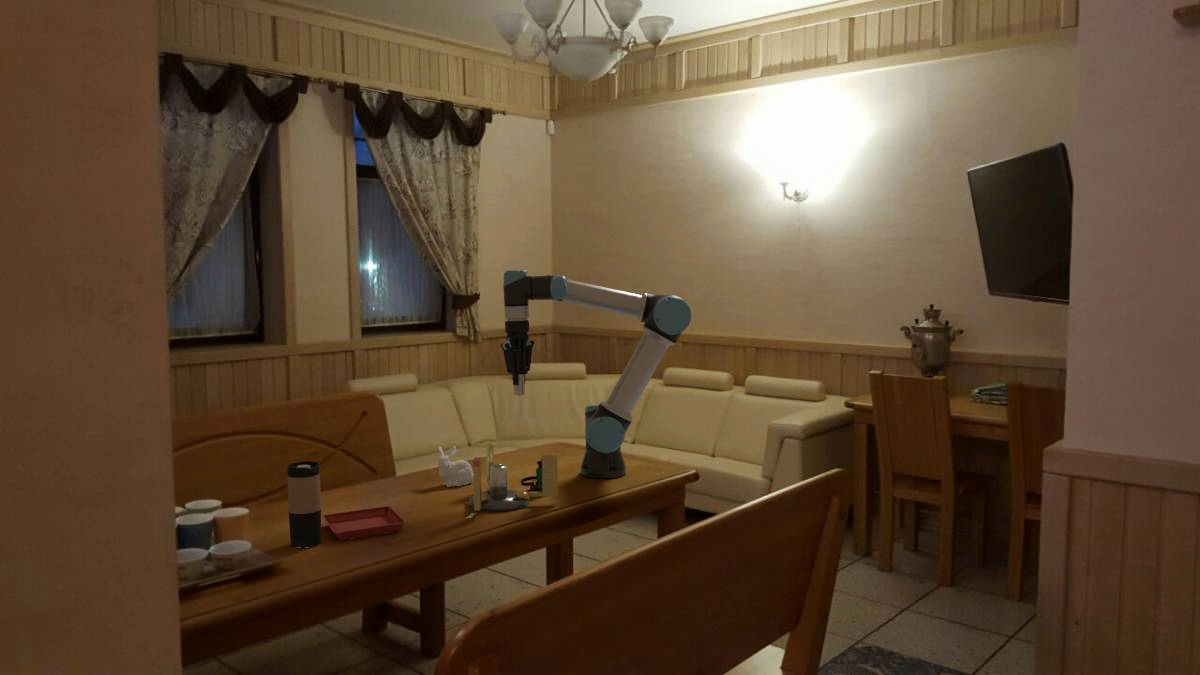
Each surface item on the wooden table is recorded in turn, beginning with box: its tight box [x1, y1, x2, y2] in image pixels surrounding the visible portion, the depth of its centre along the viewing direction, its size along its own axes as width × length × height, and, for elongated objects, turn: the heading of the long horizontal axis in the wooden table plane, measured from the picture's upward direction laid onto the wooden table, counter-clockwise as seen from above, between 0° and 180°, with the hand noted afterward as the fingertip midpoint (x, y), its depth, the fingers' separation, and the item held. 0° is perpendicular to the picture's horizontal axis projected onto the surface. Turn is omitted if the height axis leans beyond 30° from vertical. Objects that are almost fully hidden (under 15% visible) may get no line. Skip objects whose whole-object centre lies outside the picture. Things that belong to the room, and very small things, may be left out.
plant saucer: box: [321, 505, 406, 541], centre depth 229 cm, size 18×18×3 cm
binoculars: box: [520, 457, 542, 492], centre depth 265 cm, size 9×11×10 cm
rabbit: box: [437, 445, 474, 488], centre depth 277 cm, size 12×9×12 cm
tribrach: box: [466, 443, 559, 520], centre depth 250 cm, size 27×32×14 cm
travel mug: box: [287, 460, 322, 549], centre depth 216 cm, size 8×8×20 cm
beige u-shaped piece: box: [472, 456, 488, 511], centre depth 243 cm, size 12×4×14 cm, turn 3°
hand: (519, 394), depth 273 cm, fingers closed
